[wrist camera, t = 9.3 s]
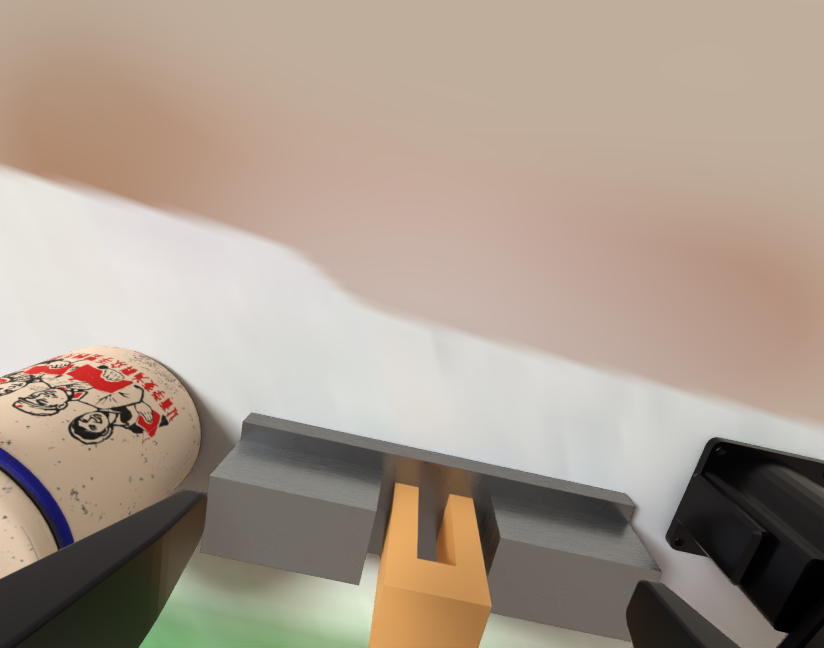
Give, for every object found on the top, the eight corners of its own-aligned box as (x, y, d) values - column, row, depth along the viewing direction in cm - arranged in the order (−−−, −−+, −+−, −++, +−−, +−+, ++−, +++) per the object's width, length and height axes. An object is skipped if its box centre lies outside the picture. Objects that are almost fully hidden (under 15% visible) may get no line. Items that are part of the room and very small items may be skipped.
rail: (625, 493, 21) (670, 553, 17) (589, 584, 23) (622, 658, 19) (251, 412, 21) (211, 455, 17) (237, 510, 22) (198, 570, 18)
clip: (472, 498, 21) (491, 606, 15) (458, 547, 21) (471, 668, 15) (395, 482, 20) (383, 585, 15) (383, 531, 21) (368, 648, 15)
